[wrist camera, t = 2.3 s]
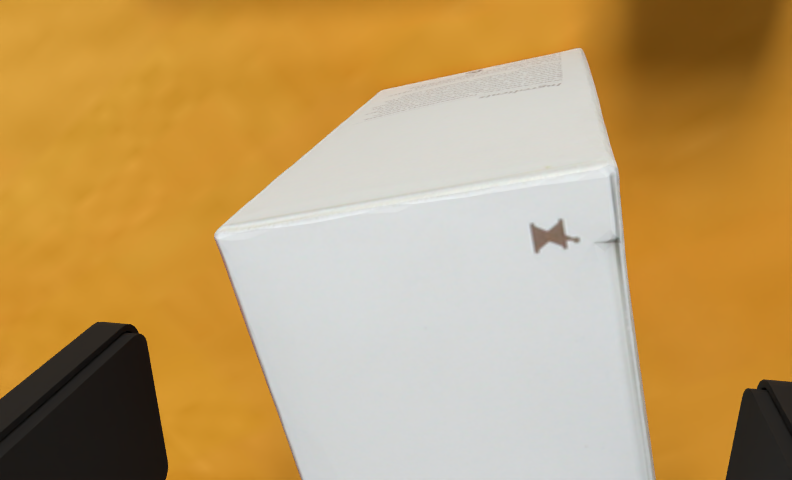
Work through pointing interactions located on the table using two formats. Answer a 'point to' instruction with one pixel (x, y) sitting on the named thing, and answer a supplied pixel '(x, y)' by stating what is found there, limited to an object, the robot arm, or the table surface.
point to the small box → (450, 286)
